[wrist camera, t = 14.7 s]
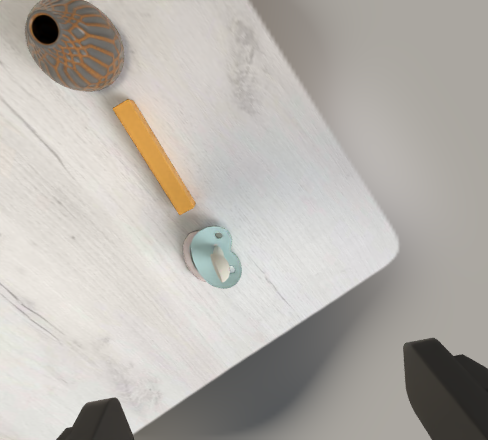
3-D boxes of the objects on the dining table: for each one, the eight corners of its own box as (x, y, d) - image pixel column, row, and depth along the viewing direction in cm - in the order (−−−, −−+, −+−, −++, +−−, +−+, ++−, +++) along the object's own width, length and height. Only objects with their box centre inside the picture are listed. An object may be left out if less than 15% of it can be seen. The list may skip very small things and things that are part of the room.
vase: (92, -4, 29) (36, -57, 20) (147, 60, 30) (116, 36, 22) (42, 51, 30) (-31, 21, 21) (98, 110, 32) (50, 104, 23)
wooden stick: (118, 109, 32) (111, 108, 30) (133, 100, 31) (127, 98, 30) (181, 211, 35) (179, 215, 33) (196, 203, 35) (194, 207, 33)
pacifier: (197, 287, 38) (245, 272, 37) (189, 318, 32) (247, 301, 31) (174, 232, 36) (225, 215, 35) (161, 254, 30) (222, 235, 29)
